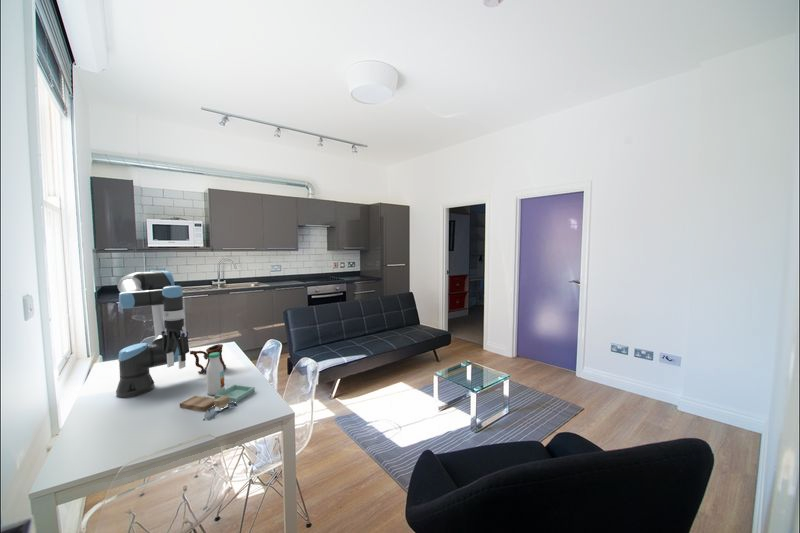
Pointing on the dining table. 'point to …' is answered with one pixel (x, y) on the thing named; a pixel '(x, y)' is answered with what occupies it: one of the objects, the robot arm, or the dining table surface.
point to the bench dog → (222, 401)
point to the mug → (206, 356)
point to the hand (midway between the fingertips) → (176, 366)
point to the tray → (236, 392)
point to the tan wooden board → (198, 403)
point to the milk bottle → (215, 375)
